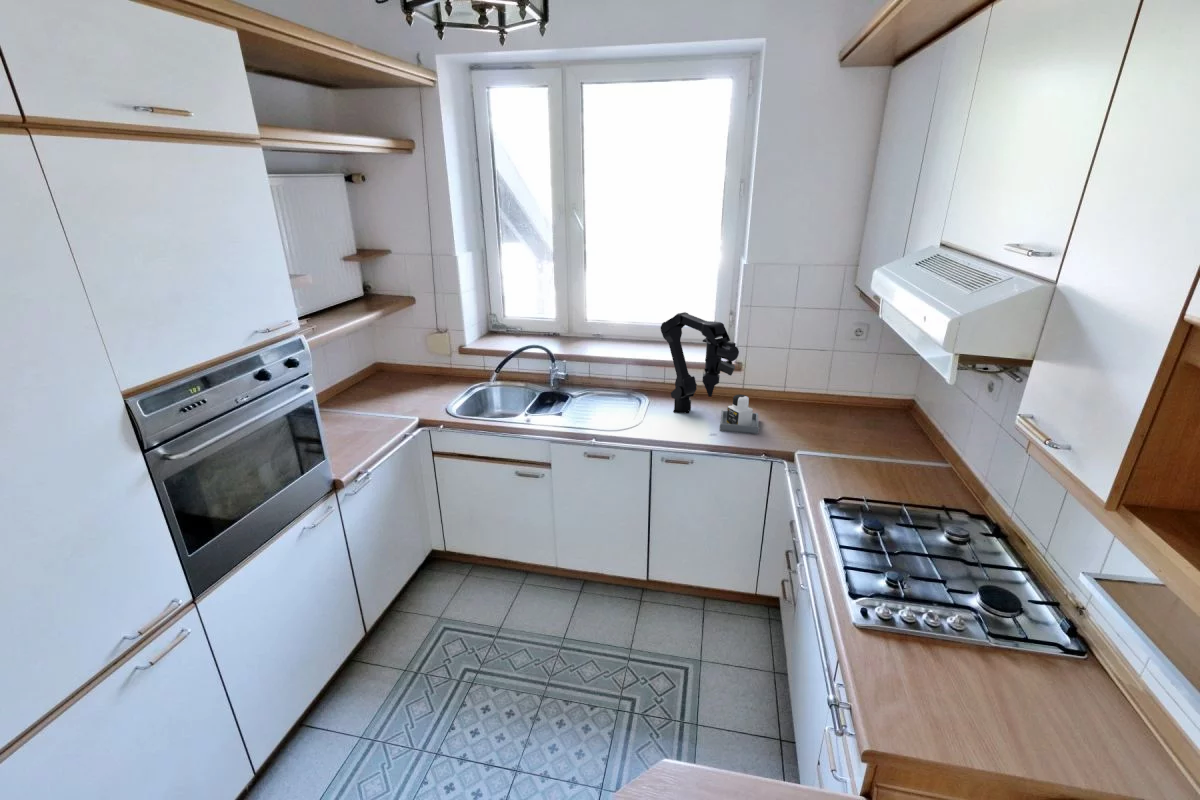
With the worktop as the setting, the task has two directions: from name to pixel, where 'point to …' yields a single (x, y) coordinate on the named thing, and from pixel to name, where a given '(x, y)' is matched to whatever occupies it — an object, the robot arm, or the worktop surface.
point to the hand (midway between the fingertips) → (710, 392)
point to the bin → (739, 428)
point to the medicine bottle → (740, 411)
